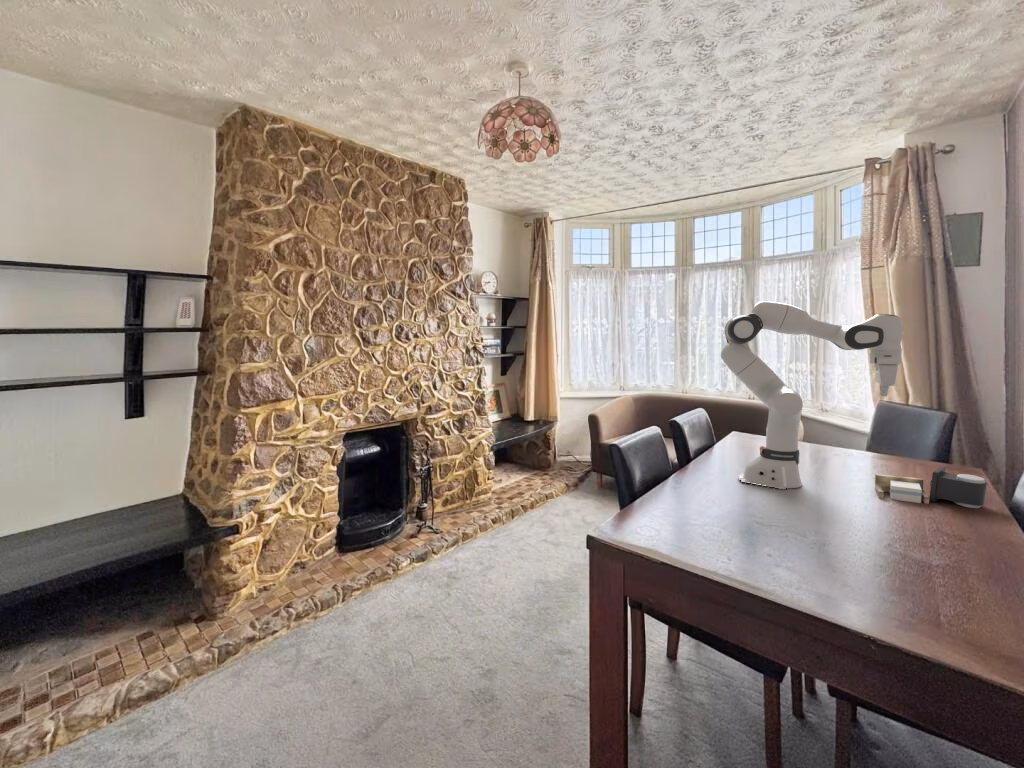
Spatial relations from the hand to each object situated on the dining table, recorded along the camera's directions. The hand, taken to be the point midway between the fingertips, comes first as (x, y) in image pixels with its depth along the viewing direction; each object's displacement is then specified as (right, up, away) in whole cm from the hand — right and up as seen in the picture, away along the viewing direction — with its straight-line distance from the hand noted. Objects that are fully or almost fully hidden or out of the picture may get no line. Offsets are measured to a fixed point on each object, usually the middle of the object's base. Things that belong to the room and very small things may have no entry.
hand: (883, 395), depth 166 cm
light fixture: (+15, -37, -12) cm, 42 cm away
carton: (+3, -37, -5) cm, 37 cm away
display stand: (+2, -36, -5) cm, 37 cm away
